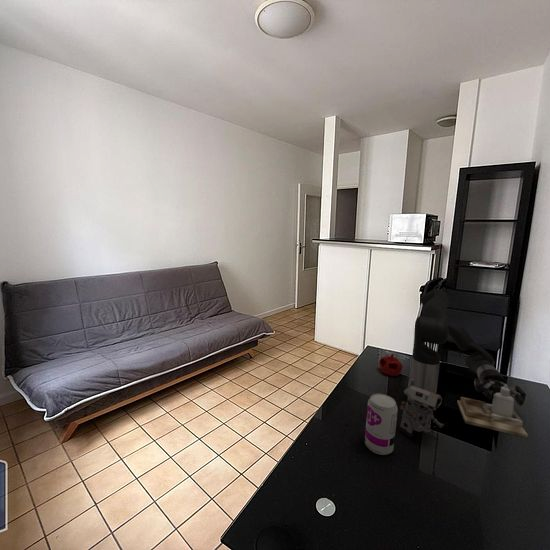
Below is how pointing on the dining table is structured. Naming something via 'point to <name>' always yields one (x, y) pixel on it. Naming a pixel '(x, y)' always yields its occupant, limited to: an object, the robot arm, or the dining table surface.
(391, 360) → the pomegranate
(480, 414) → the wooden compartment tray
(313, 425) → the dining table surface
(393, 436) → the supplement can
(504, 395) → the eye dropper bottle
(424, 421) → the figurine
